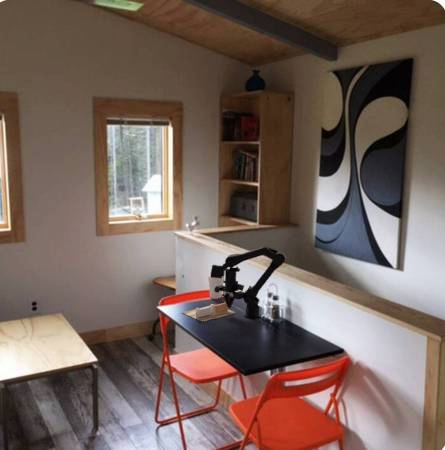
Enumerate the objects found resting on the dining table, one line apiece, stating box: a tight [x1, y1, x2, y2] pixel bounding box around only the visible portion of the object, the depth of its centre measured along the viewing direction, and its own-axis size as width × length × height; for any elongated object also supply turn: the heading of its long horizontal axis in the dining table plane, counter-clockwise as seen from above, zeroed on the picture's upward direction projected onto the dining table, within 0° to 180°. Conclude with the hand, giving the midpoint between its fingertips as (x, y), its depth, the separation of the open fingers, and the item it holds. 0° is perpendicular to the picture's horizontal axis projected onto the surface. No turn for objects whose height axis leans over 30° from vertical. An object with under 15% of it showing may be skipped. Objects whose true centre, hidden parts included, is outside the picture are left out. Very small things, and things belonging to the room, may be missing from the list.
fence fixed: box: [195, 303, 215, 318], centre depth 272 cm, size 2×12×6 cm, turn 132°
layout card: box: [181, 305, 237, 323], centre depth 278 cm, size 17×24×1 cm
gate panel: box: [214, 301, 229, 313], centre depth 279 cm, size 2×9×5 cm, turn 132°
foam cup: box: [207, 273, 225, 300], centre depth 307 cm, size 10×9×13 cm
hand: (229, 307), depth 277 cm, fingers closed
